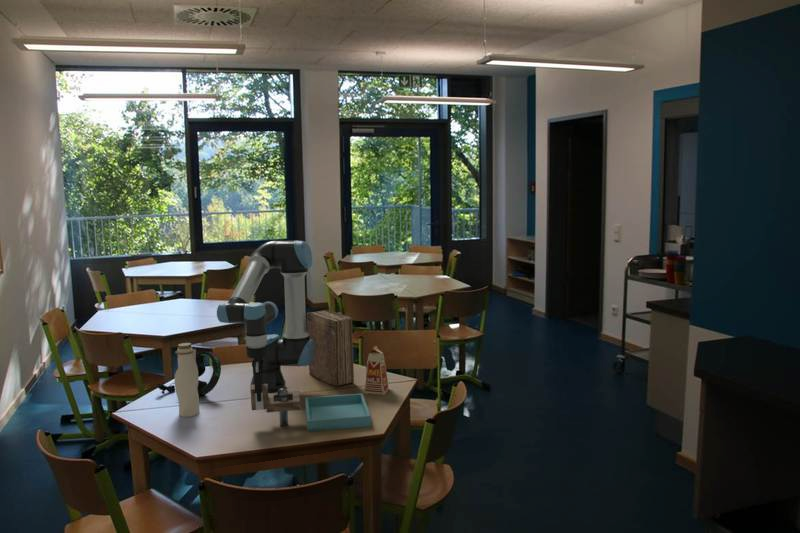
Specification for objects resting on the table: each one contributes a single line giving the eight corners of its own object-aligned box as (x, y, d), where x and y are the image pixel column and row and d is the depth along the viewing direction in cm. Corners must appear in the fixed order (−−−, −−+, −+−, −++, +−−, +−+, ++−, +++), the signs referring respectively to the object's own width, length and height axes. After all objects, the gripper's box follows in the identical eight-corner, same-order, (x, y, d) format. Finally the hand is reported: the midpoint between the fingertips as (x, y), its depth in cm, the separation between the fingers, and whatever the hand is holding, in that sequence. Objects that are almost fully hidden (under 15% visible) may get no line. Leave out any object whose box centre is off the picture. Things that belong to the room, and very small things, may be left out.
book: (354, 383, 295) (352, 317, 290) (336, 388, 289) (333, 320, 285) (326, 370, 315) (324, 308, 311) (309, 374, 310) (306, 311, 306)
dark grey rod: (278, 423, 250) (276, 387, 248) (289, 422, 250) (287, 386, 248) (278, 426, 246) (276, 390, 244) (289, 426, 246) (287, 389, 244)
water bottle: (180, 408, 267) (176, 341, 263) (203, 407, 268) (199, 340, 264) (174, 418, 257) (169, 347, 253) (198, 416, 258) (193, 346, 254)
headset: (181, 410, 290) (228, 386, 278) (155, 406, 279) (202, 381, 268) (179, 373, 299) (224, 348, 287) (153, 367, 288) (199, 341, 276)
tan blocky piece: (252, 402, 251) (251, 382, 250) (299, 398, 254) (298, 378, 253) (251, 413, 240) (249, 392, 238) (300, 409, 242) (299, 388, 241)
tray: (305, 407, 266) (305, 397, 266) (362, 402, 270) (362, 393, 269) (307, 431, 241) (307, 421, 240) (370, 426, 244) (370, 415, 244)
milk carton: (384, 394, 279) (383, 348, 277) (363, 393, 281) (361, 347, 278) (389, 387, 288) (388, 342, 285) (368, 386, 290) (367, 342, 287)
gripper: (247, 340, 251) (251, 399, 254) (244, 353, 233) (248, 416, 236) (267, 338, 252) (270, 397, 255) (266, 351, 234) (269, 414, 238)
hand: (260, 406), depth 246 cm, fingers closed on tan blocky piece, 5 cm apart
